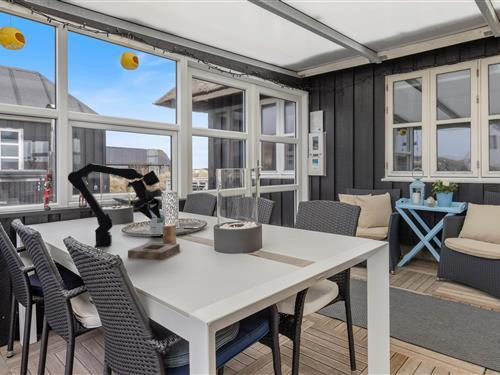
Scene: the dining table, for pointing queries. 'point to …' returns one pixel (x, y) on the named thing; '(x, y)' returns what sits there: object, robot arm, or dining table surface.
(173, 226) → the terracotta peg
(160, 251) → the walnut hole board
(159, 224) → the syrup box
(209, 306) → the dining table surface
